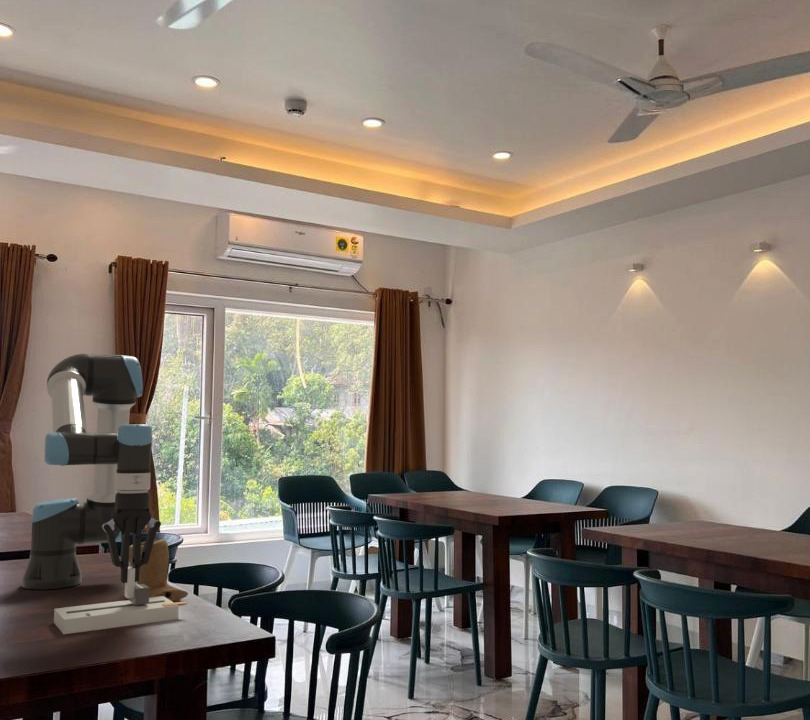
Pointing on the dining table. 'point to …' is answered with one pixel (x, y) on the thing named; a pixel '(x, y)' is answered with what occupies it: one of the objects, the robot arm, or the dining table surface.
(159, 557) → the tan boot
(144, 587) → the fader knob
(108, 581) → the dining table surface
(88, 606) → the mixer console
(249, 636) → the dining table surface
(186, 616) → the dining table surface
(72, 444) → the robot arm
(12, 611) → the dining table surface
